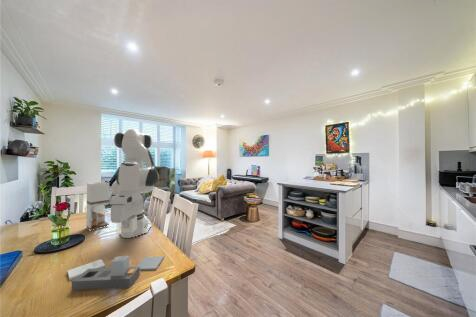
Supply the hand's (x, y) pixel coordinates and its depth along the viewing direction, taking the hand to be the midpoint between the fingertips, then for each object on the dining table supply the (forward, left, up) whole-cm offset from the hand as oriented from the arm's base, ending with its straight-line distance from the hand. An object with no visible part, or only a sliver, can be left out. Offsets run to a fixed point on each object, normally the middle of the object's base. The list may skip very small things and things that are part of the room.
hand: (129, 225), depth 80 cm
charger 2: (0, 0, -4) cm, 4 cm away
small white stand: (-58, -55, -21) cm, 83 cm away
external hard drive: (-2, -20, -22) cm, 30 cm away
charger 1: (+7, +1, -17) cm, 19 cm away
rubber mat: (-5, +8, -21) cm, 23 cm away
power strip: (+7, -4, -21) cm, 23 cm away
